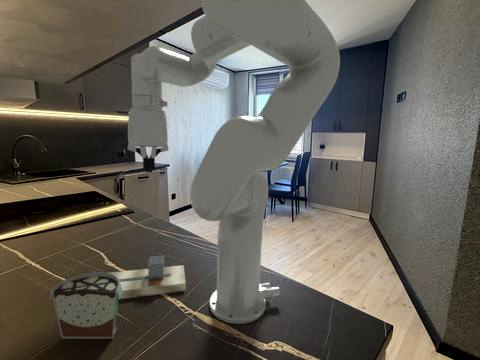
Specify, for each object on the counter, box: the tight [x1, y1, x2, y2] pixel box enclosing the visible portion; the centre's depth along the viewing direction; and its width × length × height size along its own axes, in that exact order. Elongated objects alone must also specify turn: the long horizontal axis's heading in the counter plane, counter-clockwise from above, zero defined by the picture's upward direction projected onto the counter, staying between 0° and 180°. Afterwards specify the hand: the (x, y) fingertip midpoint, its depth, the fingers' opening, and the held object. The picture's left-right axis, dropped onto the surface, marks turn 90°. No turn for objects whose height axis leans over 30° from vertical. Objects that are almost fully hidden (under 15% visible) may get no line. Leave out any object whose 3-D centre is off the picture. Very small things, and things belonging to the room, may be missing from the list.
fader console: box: [109, 265, 187, 300], centre depth 63 cm, size 22×9×2 cm, turn 105°
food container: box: [48, 271, 122, 339], centre depth 49 cm, size 12×6×10 cm, turn 92°
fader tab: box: [147, 255, 165, 280], centre depth 63 cm, size 4×4×4 cm
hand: (149, 171), depth 71 cm, fingers closed
